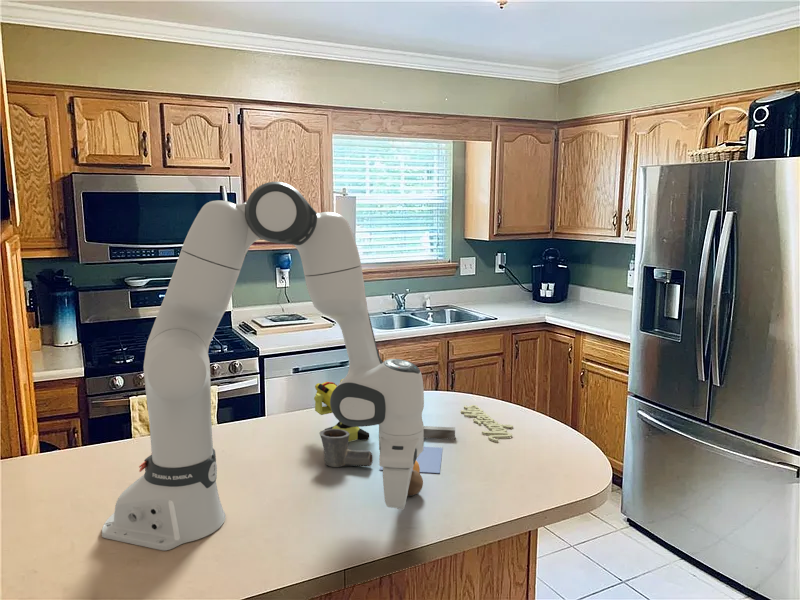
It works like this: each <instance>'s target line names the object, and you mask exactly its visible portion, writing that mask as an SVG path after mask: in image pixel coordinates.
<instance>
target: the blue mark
mask: <svg viewBox="0 0 800 600" xmlns="http://www.w3.org/2000/svg"><path fill="white" fill-rule="evenodd" d="M442 455H443V447H438V446H437V447H436V446H435V447H434V446H424V448H423V451H422V453H420V454H419V456H418V458H417V459H416V461H417V462H418V464H419V467H420V471H419V473H420V474H435V473H436V474H437V475H439V474H440V473H441V465H442V457H443V456H442ZM381 470H383V467H381V466H380V467H379V471H381Z"/></svg>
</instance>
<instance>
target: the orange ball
mask: <svg viewBox="0 0 800 600" xmlns="http://www.w3.org/2000/svg"><path fill="white" fill-rule="evenodd" d="M413 470H416V471H417V472H419V471H420V467H419V464H418V462H417V461H415V464H414V466H413Z"/></svg>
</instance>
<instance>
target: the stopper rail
mask: <svg viewBox="0 0 800 600" xmlns="http://www.w3.org/2000/svg"><path fill="white" fill-rule="evenodd" d="M424 439H437V440H456V427H450V426H434V425H433V426H431V425H430V426H428V425H424Z"/></svg>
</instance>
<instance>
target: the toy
mask: <svg viewBox="0 0 800 600" xmlns="http://www.w3.org/2000/svg"><path fill="white" fill-rule="evenodd" d="M343 379H344V378H342V379H340V382H341V381H342V380H343ZM340 382H339V383H340ZM337 385H338V384H336V383H335V382H332V381H325V382H322V383H318V382H317V383H316V384H315V386H314V388H315V390H316V393H315V395H314V398H313V400H314V402H315V404H314V411H315V412H316V413H318V414H319V415H320V416H323V415H327V414H333V412H332V410H331V406H330V398H331V395H332V392H333V391H334V389H335V388H336V387H337ZM323 404H324V406H323ZM327 429H342V430H345V431H347V432H348V433H349V439H348V443H350V442H355V441H357V440H358V441H359V440H361V441H368V440H369V439H370V433H369V432H368V431H366V430H364V429H363V428H361V427H351V426H347V425H345V424H343V423H341V422H340V421H339V420H338V422H337V423H336V424H335V425H334V426H331V427H326V428H324V430H327Z"/></svg>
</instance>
